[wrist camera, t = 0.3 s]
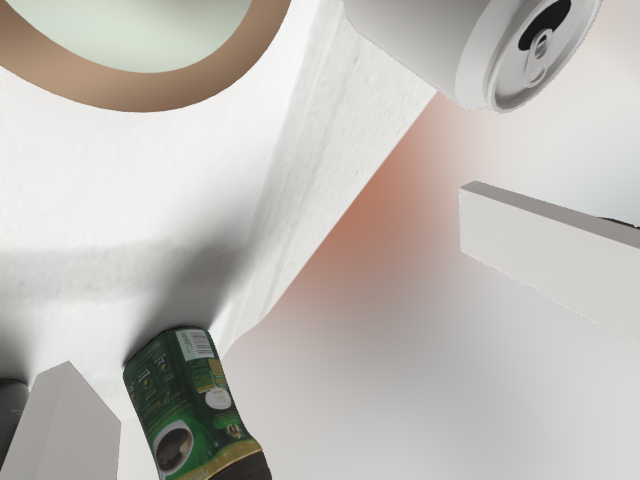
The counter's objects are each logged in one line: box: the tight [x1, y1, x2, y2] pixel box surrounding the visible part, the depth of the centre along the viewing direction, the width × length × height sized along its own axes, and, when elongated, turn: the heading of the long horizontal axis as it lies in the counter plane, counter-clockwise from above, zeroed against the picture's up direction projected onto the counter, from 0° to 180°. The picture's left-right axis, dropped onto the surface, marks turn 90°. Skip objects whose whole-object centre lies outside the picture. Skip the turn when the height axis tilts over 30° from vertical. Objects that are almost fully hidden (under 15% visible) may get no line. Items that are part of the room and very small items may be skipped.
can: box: [343, 0, 603, 114], centre depth 19 cm, size 8×8×12 cm
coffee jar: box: [123, 327, 272, 480], centre depth 36 cm, size 10×8×19 cm
